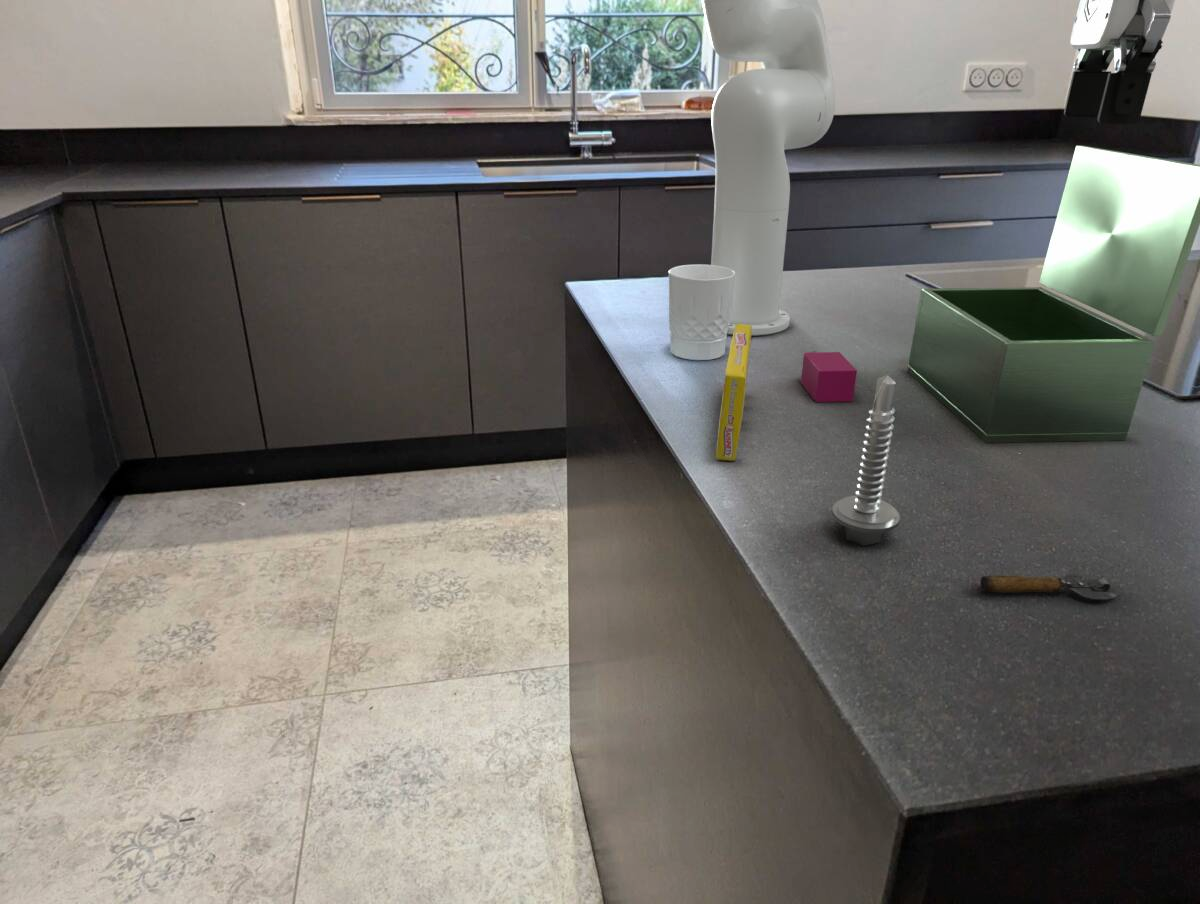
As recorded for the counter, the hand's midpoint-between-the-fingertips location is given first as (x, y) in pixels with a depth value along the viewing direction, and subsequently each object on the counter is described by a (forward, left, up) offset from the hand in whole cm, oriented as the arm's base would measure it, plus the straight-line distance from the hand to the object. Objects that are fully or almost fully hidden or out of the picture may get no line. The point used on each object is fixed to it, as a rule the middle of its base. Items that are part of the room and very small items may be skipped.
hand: (1098, 119), depth 76 cm
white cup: (-33, +17, -28) cm, 47 cm away
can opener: (-17, -35, -28) cm, 48 cm away
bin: (-3, -1, -28) cm, 28 cm away
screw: (-27, -27, -28) cm, 48 cm away
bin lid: (+3, -1, -10) cm, 11 cm away
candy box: (-33, -6, -28) cm, 44 cm away
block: (-21, +3, -28) cm, 35 cm away
